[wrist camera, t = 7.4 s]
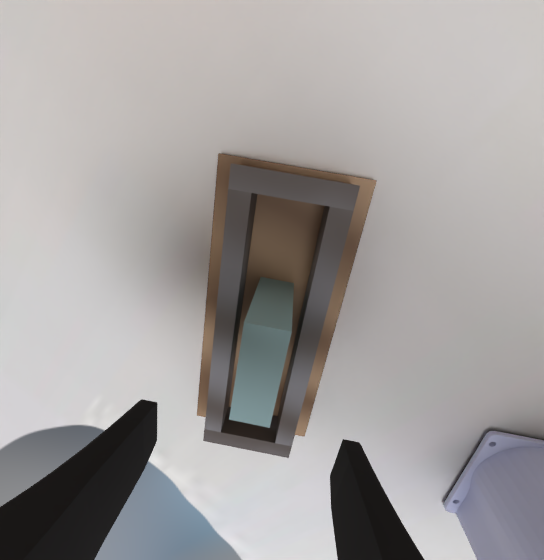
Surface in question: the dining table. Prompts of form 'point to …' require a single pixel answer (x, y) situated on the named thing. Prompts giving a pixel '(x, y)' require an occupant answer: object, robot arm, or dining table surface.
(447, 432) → the dining table surface
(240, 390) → the door panel
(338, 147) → the dining table surface
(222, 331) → the floor track
